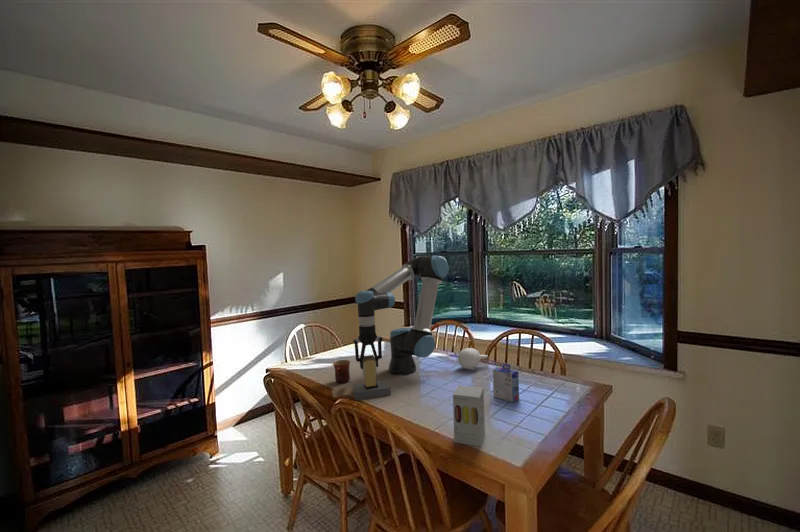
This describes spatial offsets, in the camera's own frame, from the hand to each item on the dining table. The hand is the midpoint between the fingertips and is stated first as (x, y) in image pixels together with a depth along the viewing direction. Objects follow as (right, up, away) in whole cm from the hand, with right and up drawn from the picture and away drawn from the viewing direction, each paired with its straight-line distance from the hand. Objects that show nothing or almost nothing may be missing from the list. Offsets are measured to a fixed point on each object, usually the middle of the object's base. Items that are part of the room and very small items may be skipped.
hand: (369, 374), depth 167 cm
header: (+1, -10, +1) cm, 9 cm away
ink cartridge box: (+60, -7, -10) cm, 62 cm away
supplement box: (+38, -10, -42) cm, 57 cm away
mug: (-16, -10, +17) cm, 25 cm away
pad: (-13, -10, +4) cm, 17 cm away
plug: (0, -5, 0) cm, 5 cm away
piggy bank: (+54, -6, +30) cm, 62 cm away
